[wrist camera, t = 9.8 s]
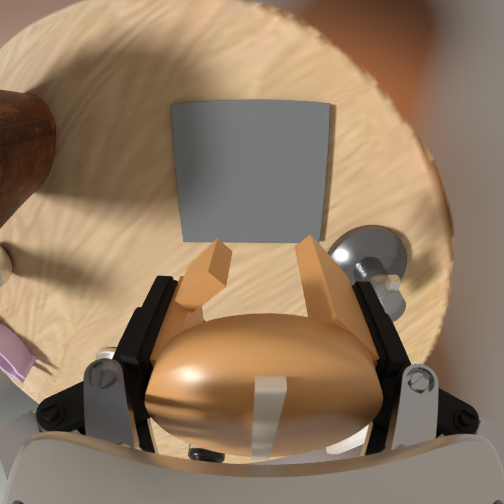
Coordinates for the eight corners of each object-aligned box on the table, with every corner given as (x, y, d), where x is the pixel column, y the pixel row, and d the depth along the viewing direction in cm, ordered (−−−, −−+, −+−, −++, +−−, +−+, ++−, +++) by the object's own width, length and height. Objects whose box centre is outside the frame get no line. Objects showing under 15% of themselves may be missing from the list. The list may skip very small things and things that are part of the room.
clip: (-20, 317, 42) (-32, 334, 36) (-19, 296, 38) (-34, 315, 32) (31, 367, 49) (21, 386, 43) (39, 354, 45) (26, 376, 39)
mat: (317, 240, 28) (319, 243, 28) (185, 239, 29) (183, 242, 28) (328, 103, 21) (329, 103, 21) (173, 104, 22) (171, 104, 21)
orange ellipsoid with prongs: (327, 354, 12) (344, 458, 8) (193, 350, 12) (171, 455, 8) (359, 233, 9) (429, 358, 4) (174, 227, 9) (104, 353, 4)
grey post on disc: (390, 297, 32) (413, 341, 25) (317, 299, 32) (329, 350, 26) (411, 226, 27) (447, 265, 20) (329, 223, 27) (350, 266, 20)
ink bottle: (231, 434, 55) (227, 477, 45) (224, 444, 59) (221, 483, 49) (190, 427, 54) (183, 470, 44) (188, 438, 58) (182, 476, 48)
